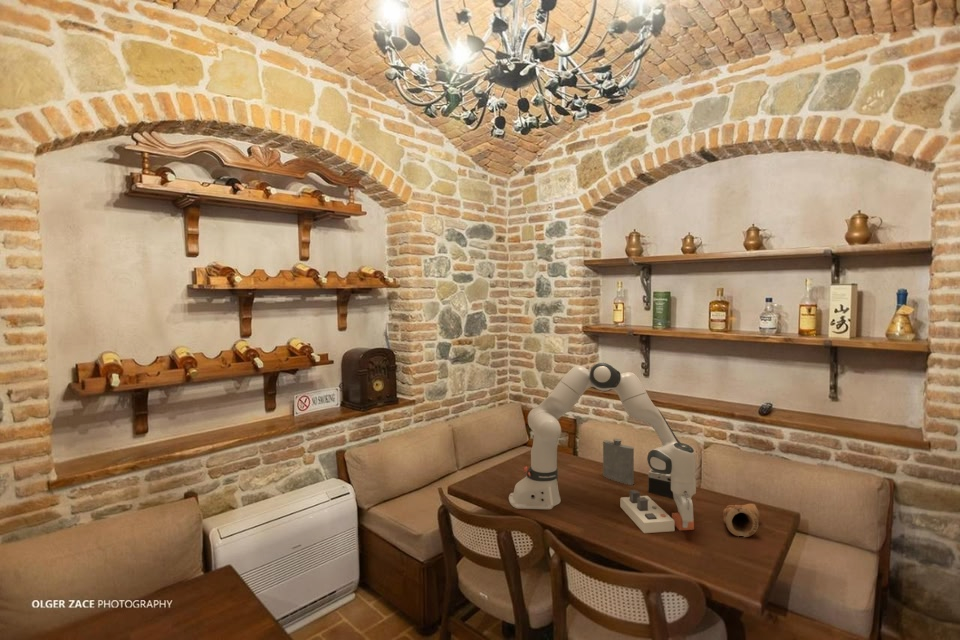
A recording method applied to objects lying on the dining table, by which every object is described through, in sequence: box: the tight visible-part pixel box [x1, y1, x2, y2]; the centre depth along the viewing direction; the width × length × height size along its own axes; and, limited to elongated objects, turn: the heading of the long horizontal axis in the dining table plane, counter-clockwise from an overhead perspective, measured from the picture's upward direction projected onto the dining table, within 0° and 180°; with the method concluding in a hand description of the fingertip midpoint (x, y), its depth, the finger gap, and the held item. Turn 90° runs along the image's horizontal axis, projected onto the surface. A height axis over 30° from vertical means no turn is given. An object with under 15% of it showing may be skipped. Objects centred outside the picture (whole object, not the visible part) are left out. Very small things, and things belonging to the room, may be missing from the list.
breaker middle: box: [637, 497, 648, 511], centre depth 187 cm, size 3×3×4 cm
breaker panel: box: [619, 495, 676, 534], centre depth 187 cm, size 12×22×4 cm, turn 6°
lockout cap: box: [671, 512, 695, 531], centre depth 181 cm, size 6×6×4 cm
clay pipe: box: [722, 503, 761, 538], centre depth 178 cm, size 19×11×15 cm
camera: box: [647, 468, 674, 499], centre depth 210 cm, size 14×8×10 cm, turn 52°
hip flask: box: [602, 438, 635, 486], centre depth 225 cm, size 16×4×20 cm, turn 42°
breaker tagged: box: [645, 513, 656, 520], centre depth 180 cm, size 3×3×4 cm
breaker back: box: [629, 489, 641, 503], centre depth 194 cm, size 3×3×4 cm
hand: (682, 521), depth 181 cm, fingers closed on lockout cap, 7 cm apart
